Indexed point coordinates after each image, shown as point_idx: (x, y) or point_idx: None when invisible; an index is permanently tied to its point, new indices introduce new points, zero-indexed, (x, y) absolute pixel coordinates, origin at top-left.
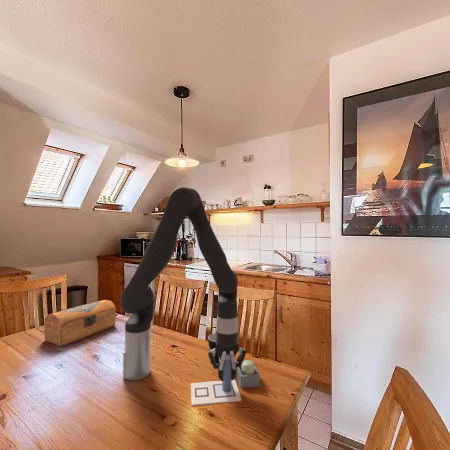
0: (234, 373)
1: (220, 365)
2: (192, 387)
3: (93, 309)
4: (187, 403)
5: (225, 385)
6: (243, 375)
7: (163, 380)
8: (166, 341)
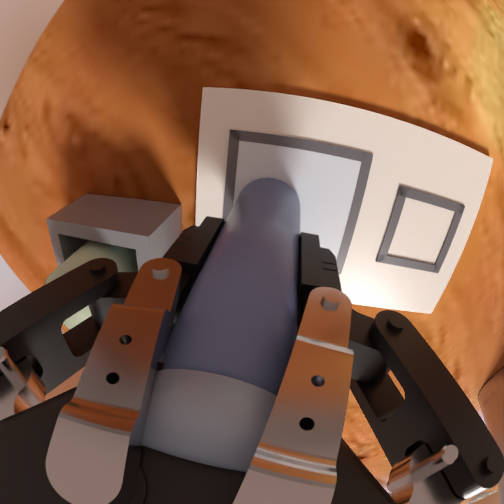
0: (182, 244)
1: (337, 331)
2: (441, 283)
3: (468, 500)
4: (496, 183)
5: (284, 200)
6: (127, 242)
7: (486, 347)
8: (366, 466)
